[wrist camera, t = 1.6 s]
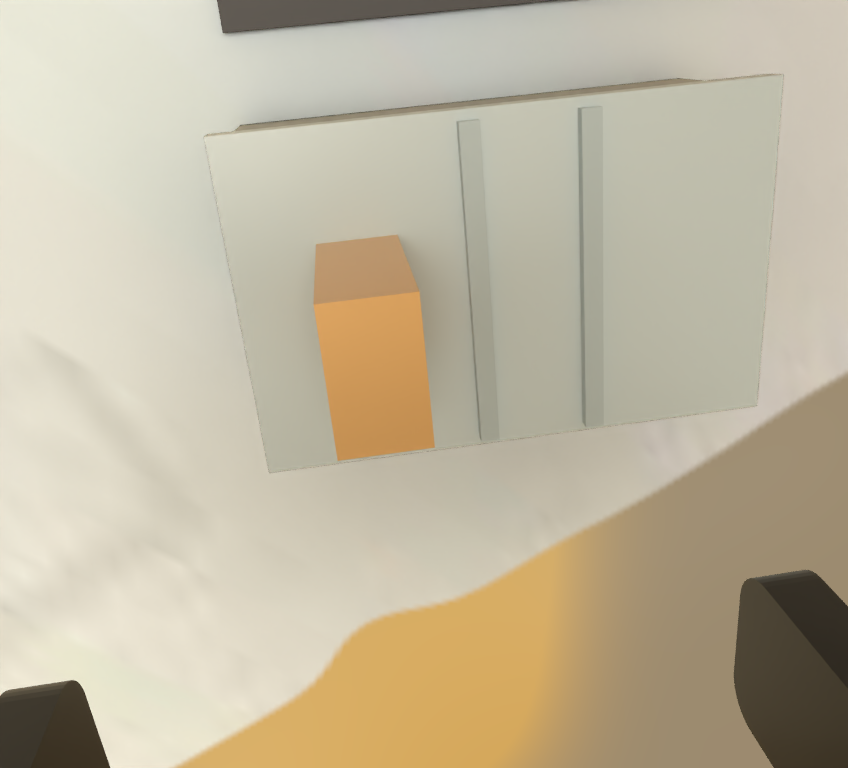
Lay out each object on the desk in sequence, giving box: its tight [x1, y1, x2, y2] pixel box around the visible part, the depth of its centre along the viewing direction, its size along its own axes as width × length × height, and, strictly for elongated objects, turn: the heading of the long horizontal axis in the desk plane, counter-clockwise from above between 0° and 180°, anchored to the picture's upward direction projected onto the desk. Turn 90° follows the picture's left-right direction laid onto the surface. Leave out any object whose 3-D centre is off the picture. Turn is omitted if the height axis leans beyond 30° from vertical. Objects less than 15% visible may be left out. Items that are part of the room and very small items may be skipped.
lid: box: [204, 74, 784, 473], centre depth 23 cm, size 17×11×8 cm, turn 96°
